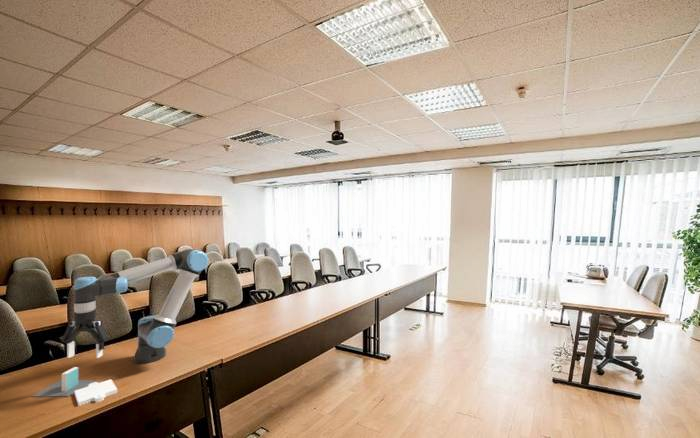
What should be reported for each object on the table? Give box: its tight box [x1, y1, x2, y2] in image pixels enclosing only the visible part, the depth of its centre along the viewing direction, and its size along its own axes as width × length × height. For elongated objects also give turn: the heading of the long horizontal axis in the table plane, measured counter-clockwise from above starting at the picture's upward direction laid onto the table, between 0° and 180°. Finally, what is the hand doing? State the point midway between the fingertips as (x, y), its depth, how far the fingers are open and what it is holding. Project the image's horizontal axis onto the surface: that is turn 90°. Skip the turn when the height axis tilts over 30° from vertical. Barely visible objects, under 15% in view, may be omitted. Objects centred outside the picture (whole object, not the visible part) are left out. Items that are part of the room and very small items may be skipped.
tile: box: [61, 366, 79, 391], centre depth 136 cm, size 2×6×8 cm, turn 1°
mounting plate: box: [73, 378, 118, 407], centre depth 132 cm, size 18×13×2 cm
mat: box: [31, 379, 95, 398], centre depth 136 cm, size 16×13×1 cm
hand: (85, 356), depth 136 cm, fingers open, 13 cm apart
